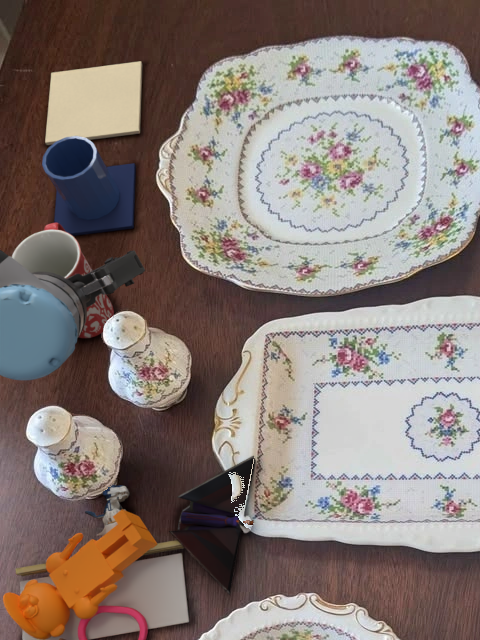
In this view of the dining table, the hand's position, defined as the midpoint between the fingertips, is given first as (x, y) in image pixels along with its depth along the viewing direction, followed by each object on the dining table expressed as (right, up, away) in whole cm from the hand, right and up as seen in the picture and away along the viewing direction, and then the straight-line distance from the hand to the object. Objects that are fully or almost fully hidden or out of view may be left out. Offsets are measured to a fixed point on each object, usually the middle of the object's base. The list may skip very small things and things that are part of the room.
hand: (63, 293), depth 95 cm
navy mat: (-5, +20, +25) cm, 32 cm away
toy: (+4, -35, +2) cm, 35 cm away
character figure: (+12, -27, +4) cm, 30 cm away
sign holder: (+4, -32, +2) cm, 32 cm away
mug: (-4, +2, +18) cm, 18 cm away
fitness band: (+6, -41, 0) cm, 41 cm away
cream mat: (-8, +38, +32) cm, 51 cm away
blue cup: (-5, +20, +25) cm, 32 cm away
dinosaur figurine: (+7, -31, +1) cm, 32 cm away
